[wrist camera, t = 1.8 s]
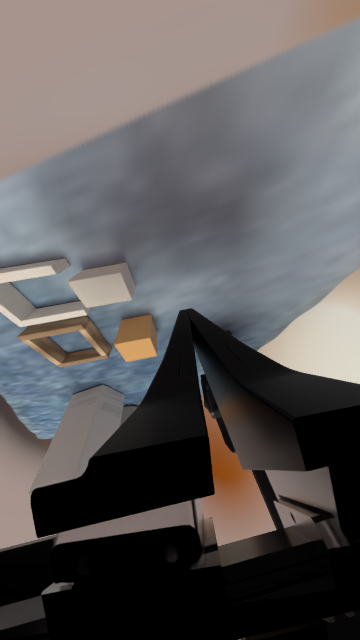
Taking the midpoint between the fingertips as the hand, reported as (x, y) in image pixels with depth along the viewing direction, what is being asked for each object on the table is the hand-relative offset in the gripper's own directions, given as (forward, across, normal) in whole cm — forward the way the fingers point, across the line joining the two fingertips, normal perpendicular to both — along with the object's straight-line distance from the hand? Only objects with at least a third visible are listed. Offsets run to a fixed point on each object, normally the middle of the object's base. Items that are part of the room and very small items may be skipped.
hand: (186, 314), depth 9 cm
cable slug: (+10, +8, 0) cm, 12 cm away
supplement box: (+10, +24, +29) cm, 38 cm away
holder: (+10, +17, +8) cm, 21 cm away
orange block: (+10, +6, +8) cm, 14 cm away
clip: (+10, +14, 0) cm, 17 cm away
